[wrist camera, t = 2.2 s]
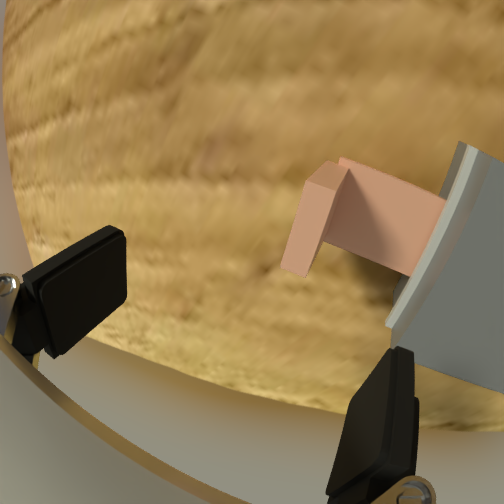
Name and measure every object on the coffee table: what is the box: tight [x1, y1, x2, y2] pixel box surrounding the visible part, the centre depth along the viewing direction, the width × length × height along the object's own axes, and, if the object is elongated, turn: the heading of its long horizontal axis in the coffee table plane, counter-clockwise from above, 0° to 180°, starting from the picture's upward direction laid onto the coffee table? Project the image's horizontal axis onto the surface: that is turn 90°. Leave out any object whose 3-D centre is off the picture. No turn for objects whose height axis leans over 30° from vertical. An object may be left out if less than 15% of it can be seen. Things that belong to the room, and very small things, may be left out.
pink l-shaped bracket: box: [280, 156, 447, 278], centre depth 16 cm, size 18×6×6 cm, turn 77°
